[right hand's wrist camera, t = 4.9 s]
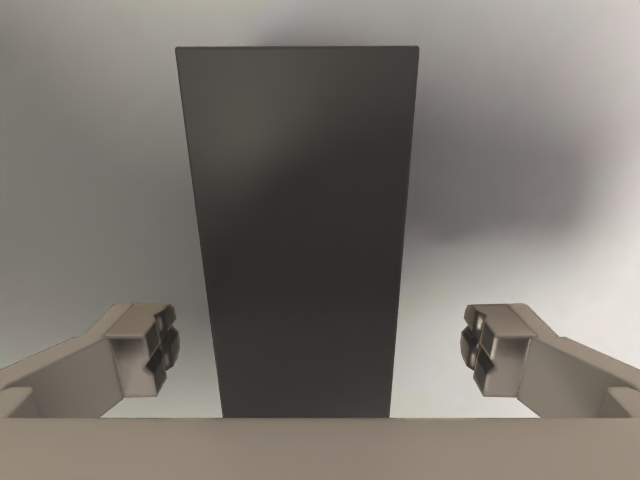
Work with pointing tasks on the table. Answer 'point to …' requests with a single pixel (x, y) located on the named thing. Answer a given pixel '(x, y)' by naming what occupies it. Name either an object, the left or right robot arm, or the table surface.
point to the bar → (301, 220)
